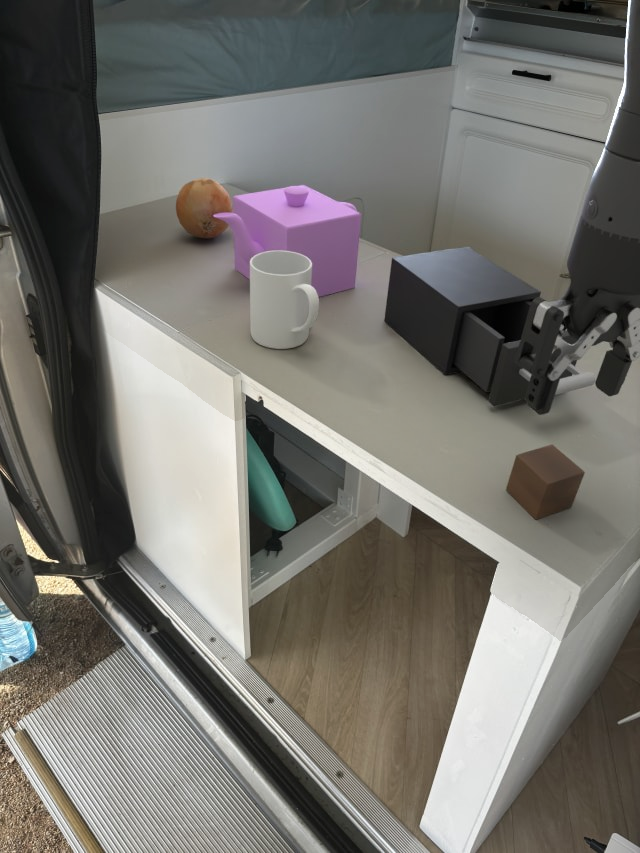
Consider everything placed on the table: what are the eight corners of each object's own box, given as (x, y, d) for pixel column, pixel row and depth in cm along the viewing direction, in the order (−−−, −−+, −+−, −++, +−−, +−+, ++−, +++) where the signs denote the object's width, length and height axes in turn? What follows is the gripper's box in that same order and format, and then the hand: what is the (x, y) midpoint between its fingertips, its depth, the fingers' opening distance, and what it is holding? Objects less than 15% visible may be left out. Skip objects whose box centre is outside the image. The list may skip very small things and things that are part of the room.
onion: (223, 224, 122) (221, 168, 116) (240, 243, 115) (239, 185, 109) (172, 229, 118) (167, 172, 112) (186, 249, 111) (182, 189, 105)
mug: (240, 329, 90) (238, 256, 83) (289, 317, 93) (291, 246, 87) (286, 371, 82) (288, 294, 76) (337, 355, 85) (343, 280, 79)
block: (540, 478, 68) (552, 443, 65) (571, 507, 64) (585, 472, 62) (505, 490, 66) (515, 454, 63) (535, 520, 63) (547, 484, 60)
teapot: (194, 277, 102) (188, 186, 94) (324, 249, 114) (329, 166, 106) (242, 317, 93) (240, 219, 84) (379, 281, 105) (389, 192, 96)
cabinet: (523, 357, 88) (541, 291, 82) (445, 375, 83) (458, 306, 77) (456, 307, 99) (468, 246, 93) (383, 321, 94) (391, 257, 88)
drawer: (597, 409, 77) (619, 352, 72) (521, 431, 73) (539, 371, 68) (495, 333, 91) (508, 281, 86) (426, 348, 87) (435, 293, 82)
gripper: (600, 247, 43) (537, 442, 53) (743, 225, 48) (662, 406, 58) (525, 210, 48) (481, 394, 58) (662, 193, 54) (600, 364, 63)
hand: (572, 399), depth 58 cm, fingers open, 7 cm apart
